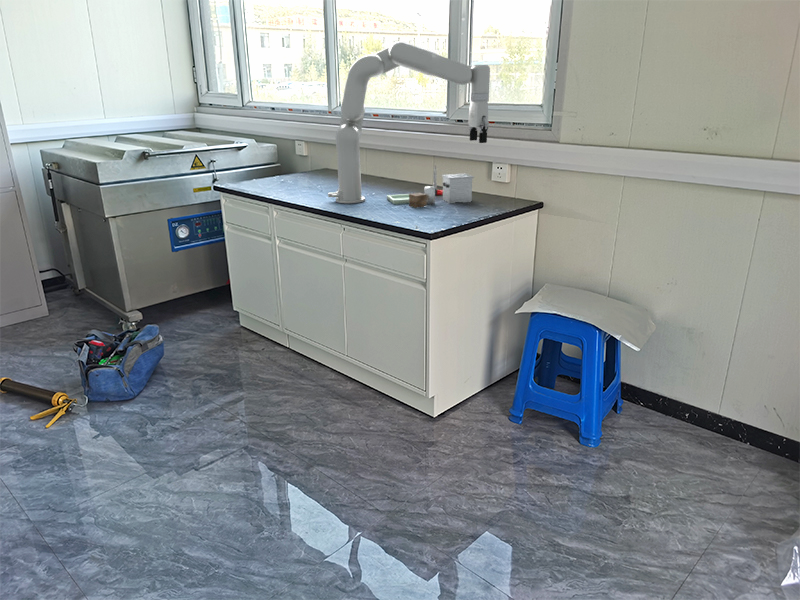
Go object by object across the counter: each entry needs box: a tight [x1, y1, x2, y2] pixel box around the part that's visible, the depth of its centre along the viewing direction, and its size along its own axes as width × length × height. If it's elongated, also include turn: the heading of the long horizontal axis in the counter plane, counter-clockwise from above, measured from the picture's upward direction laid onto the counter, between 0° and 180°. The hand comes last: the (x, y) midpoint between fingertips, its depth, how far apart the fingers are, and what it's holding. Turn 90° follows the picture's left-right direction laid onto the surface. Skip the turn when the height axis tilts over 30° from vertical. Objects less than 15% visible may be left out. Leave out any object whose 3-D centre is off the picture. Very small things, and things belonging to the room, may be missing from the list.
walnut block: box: [408, 192, 427, 209], centre depth 237 cm, size 5×5×5 cm
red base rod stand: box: [432, 165, 443, 196], centre depth 261 cm, size 8×13×9 cm
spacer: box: [423, 185, 436, 206], centre depth 241 cm, size 4×4×7 cm
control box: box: [441, 172, 474, 204], centre depth 245 cm, size 11×9×11 cm
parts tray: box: [386, 193, 410, 205], centre depth 247 cm, size 11×11×2 cm
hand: (478, 141), depth 240 cm, fingers open, 9 cm apart
